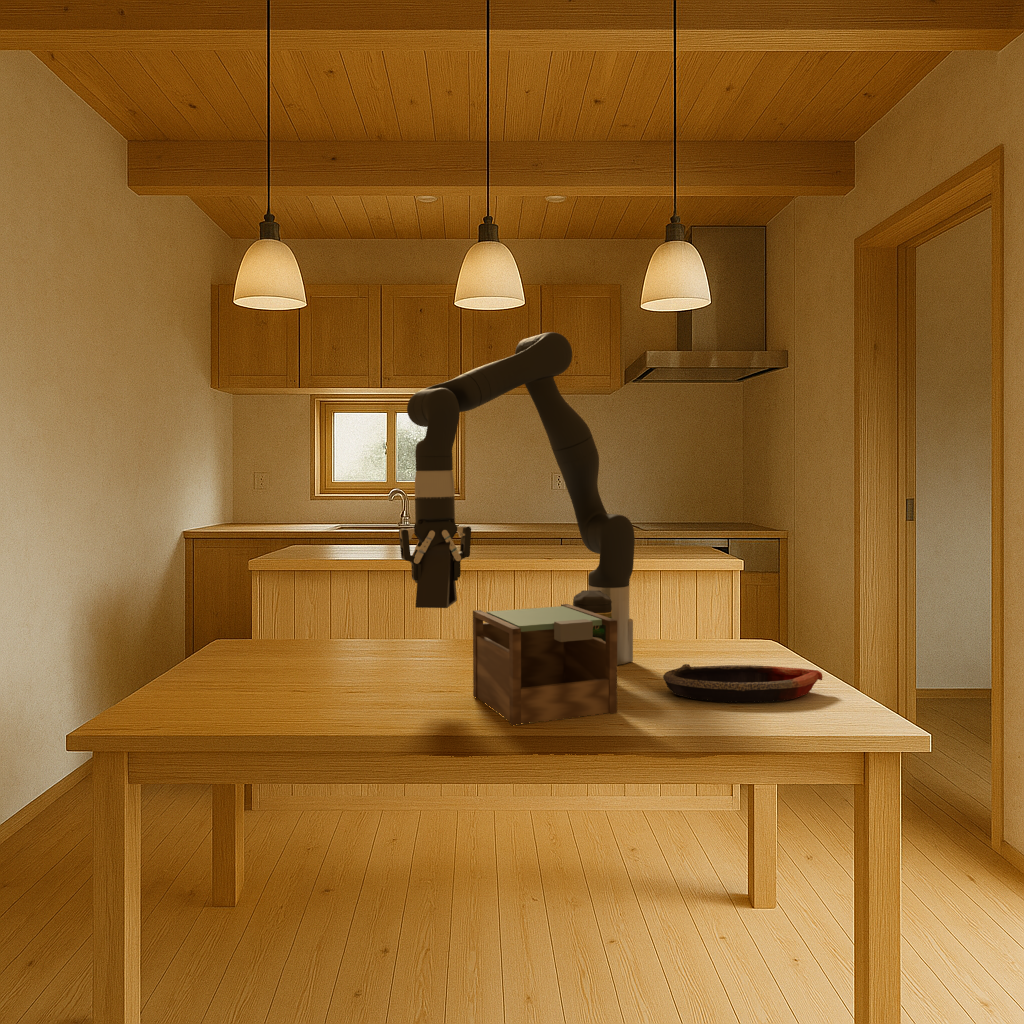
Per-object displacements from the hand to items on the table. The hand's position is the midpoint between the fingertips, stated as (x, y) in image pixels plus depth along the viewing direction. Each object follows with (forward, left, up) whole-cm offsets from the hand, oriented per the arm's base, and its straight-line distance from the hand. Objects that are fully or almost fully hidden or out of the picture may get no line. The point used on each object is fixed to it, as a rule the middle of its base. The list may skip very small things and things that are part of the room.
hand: (436, 581), depth 160 cm
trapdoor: (-16, +17, -7) cm, 24 cm away
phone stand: (0, 0, -5) cm, 5 cm away
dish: (-54, +23, -22) cm, 63 cm away
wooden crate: (-16, +14, -22) cm, 31 cm away
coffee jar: (-32, +3, -22) cm, 39 cm away
